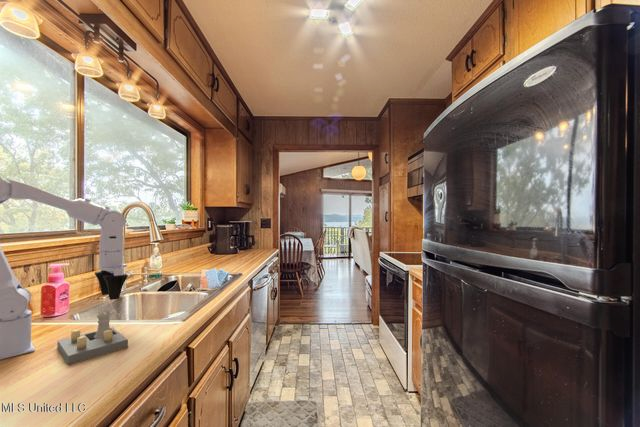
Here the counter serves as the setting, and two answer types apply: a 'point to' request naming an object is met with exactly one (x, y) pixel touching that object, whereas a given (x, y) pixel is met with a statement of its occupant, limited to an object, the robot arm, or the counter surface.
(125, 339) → the pin board
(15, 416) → the counter surface
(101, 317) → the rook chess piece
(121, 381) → the counter surface
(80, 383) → the counter surface
